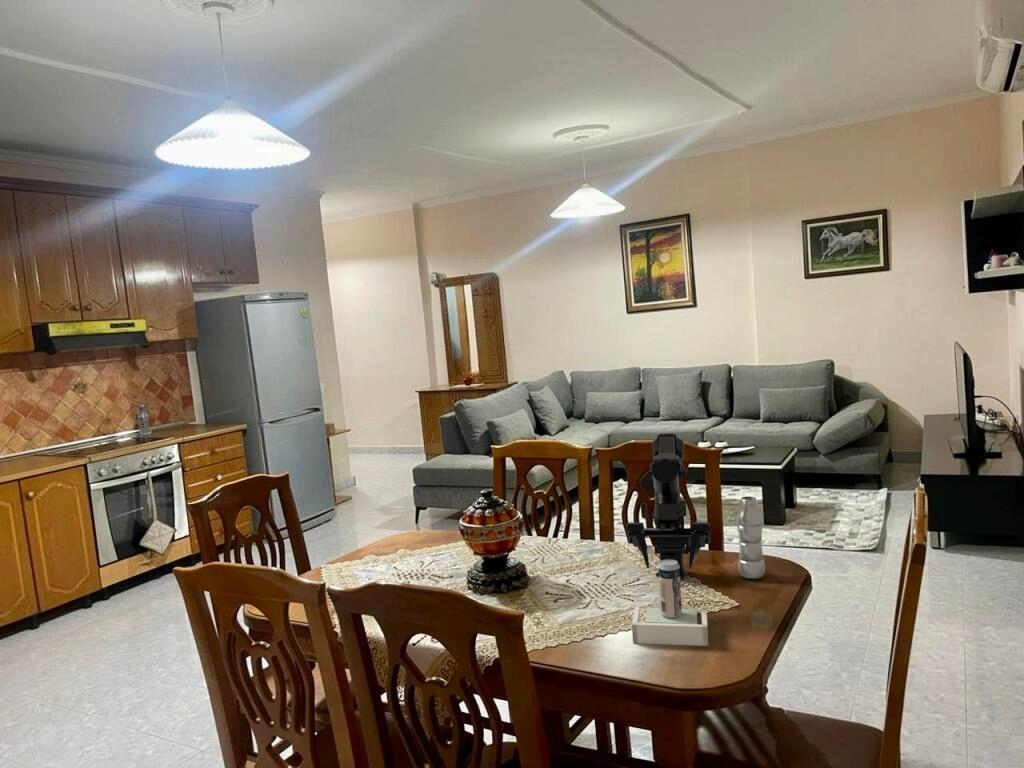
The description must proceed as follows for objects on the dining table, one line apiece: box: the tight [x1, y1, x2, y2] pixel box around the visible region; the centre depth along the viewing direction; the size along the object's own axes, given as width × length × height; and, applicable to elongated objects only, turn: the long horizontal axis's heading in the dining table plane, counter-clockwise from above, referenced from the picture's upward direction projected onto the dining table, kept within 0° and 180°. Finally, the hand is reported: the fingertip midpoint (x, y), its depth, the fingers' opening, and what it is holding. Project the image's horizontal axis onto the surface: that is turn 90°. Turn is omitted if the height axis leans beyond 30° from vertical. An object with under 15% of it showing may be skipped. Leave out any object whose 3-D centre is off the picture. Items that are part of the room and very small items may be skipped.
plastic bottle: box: [735, 495, 766, 580], centre depth 181 cm, size 6×7×20 cm
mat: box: [644, 607, 698, 624], centre depth 162 cm, size 8×11×1 cm
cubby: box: [631, 606, 709, 647], centre depth 153 cm, size 9×15×4 cm, turn 77°
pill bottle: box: [657, 559, 683, 618], centre depth 161 cm, size 5×5×12 cm
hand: (669, 568), depth 162 cm, fingers open, 9 cm apart
